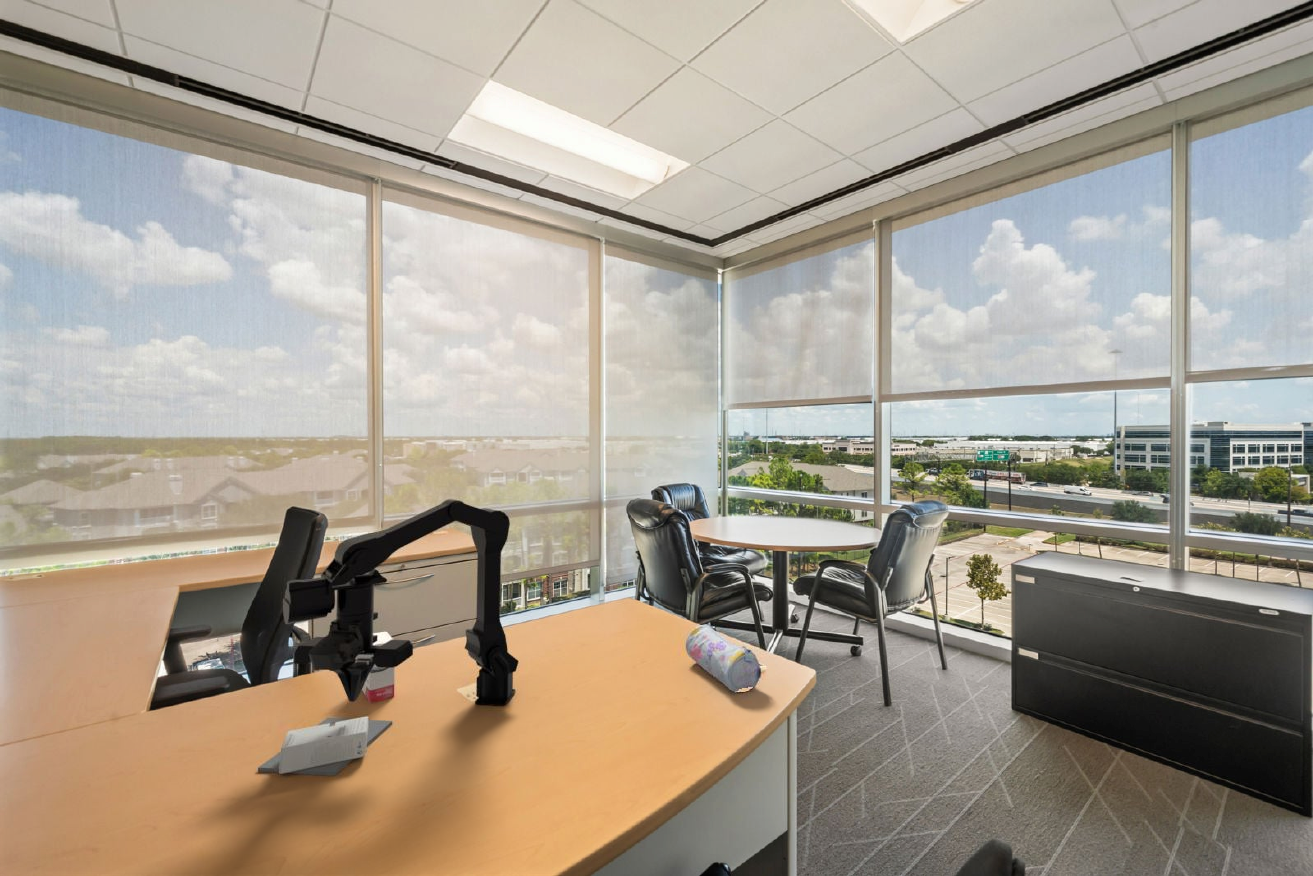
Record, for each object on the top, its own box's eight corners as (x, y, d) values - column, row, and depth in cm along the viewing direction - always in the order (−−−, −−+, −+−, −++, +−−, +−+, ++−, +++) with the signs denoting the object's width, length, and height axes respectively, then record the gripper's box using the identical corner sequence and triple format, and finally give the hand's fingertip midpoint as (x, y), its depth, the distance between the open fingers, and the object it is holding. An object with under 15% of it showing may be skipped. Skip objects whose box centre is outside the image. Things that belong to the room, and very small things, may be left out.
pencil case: (763, 692, 115) (763, 648, 115) (730, 699, 111) (730, 654, 111) (712, 657, 134) (713, 620, 134) (682, 663, 130) (683, 624, 130)
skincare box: (367, 731, 88) (279, 746, 83) (365, 758, 88) (278, 776, 83) (369, 714, 94) (287, 728, 88) (367, 740, 94) (285, 755, 88)
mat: (392, 724, 100) (392, 721, 100) (334, 776, 84) (334, 772, 84) (327, 720, 101) (327, 717, 101) (257, 771, 85) (257, 767, 85)
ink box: (395, 697, 111) (396, 640, 111) (369, 704, 108) (370, 646, 108) (385, 683, 117) (386, 629, 118) (360, 689, 114) (361, 634, 115)
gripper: (268, 624, 85) (265, 721, 85) (377, 628, 84) (375, 727, 83) (317, 604, 96) (315, 690, 96) (415, 607, 95) (413, 695, 95)
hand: (353, 700), depth 92 cm, fingers closed
